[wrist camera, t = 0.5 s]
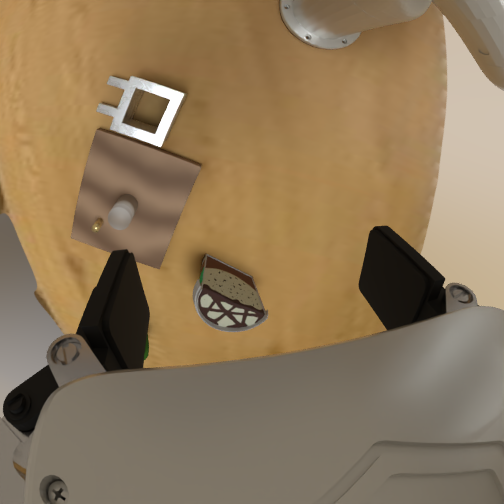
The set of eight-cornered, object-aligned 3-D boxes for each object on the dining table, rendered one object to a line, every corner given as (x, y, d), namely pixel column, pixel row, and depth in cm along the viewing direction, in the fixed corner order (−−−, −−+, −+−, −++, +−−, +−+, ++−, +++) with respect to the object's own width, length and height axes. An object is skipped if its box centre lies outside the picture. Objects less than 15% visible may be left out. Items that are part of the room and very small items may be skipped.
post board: (100, 128, 33) (82, 135, 27) (201, 164, 39) (200, 177, 33) (74, 233, 40) (59, 254, 35) (160, 264, 46) (156, 288, 41)
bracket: (187, 94, 33) (184, 93, 28) (166, 139, 36) (160, 146, 31) (116, 70, 29) (102, 67, 24) (97, 116, 32) (82, 120, 27)
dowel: (97, 216, 38) (92, 224, 36) (104, 219, 39) (99, 226, 37) (96, 223, 39) (90, 231, 37) (102, 225, 39) (97, 233, 37)
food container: (180, 276, 48) (177, 317, 39) (198, 249, 46) (198, 288, 37) (239, 302, 53) (247, 343, 45) (259, 279, 51) (270, 319, 42)
